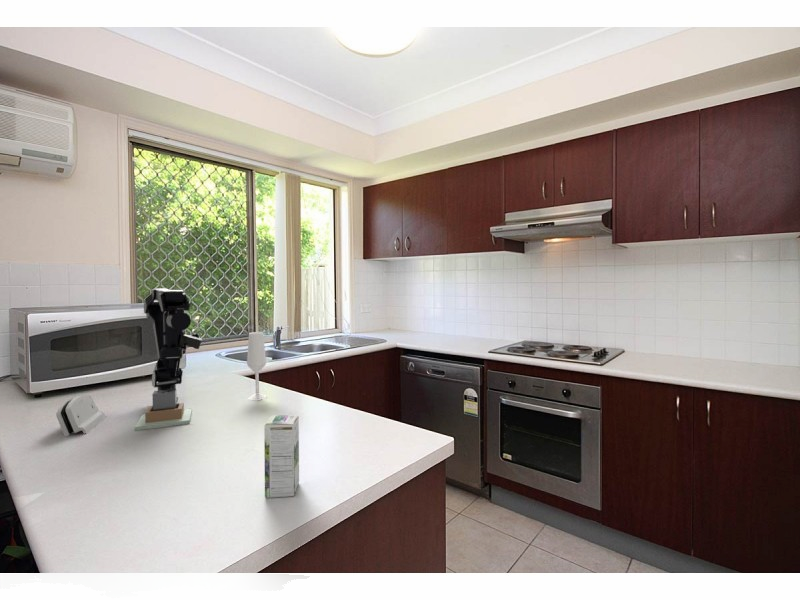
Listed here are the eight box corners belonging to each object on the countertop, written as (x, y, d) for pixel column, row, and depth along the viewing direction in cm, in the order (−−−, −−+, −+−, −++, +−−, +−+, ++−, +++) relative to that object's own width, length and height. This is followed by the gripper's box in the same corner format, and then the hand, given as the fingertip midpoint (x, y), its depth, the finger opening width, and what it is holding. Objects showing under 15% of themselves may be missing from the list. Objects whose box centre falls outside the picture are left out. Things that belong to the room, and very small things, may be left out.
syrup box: (271, 484, 85) (269, 414, 85) (300, 483, 86) (298, 413, 85) (264, 498, 80) (262, 424, 79) (295, 497, 80) (294, 423, 80)
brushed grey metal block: (155, 416, 128) (154, 390, 128) (177, 413, 131) (176, 388, 130) (153, 420, 125) (152, 394, 124) (175, 417, 127) (175, 391, 127)
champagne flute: (247, 396, 154) (245, 332, 153) (265, 394, 156) (264, 331, 156) (248, 401, 148) (246, 334, 147) (268, 399, 150) (266, 333, 149)
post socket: (142, 417, 131) (142, 404, 131) (192, 411, 136) (191, 399, 136) (135, 430, 119) (134, 416, 119) (189, 423, 124) (189, 410, 124)
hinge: (85, 434, 116) (70, 402, 115) (67, 442, 115) (50, 409, 113) (107, 416, 132) (93, 388, 131) (90, 423, 131) (76, 394, 129)
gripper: (198, 329, 132) (199, 378, 133) (201, 324, 149) (202, 367, 150) (158, 331, 128) (160, 381, 128) (166, 325, 145) (167, 369, 146)
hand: (174, 374), depth 138 cm, fingers open, 9 cm apart
